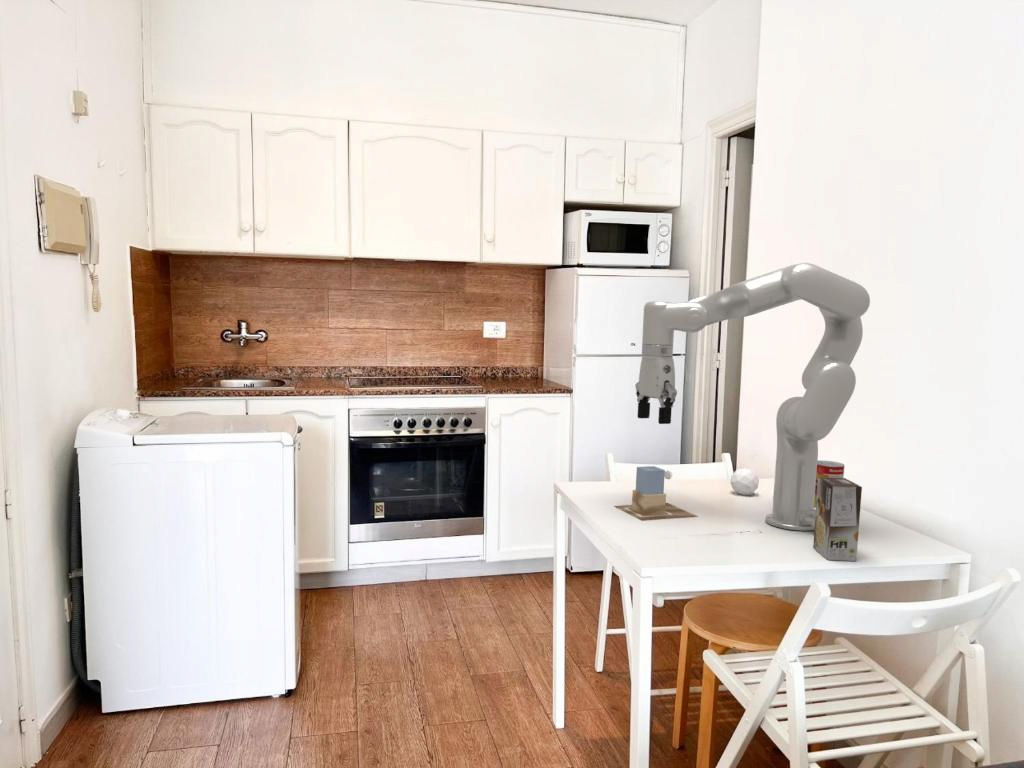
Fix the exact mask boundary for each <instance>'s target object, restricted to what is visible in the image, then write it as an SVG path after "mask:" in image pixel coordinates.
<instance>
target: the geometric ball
mask: <svg viewBox="0 0 1024 768" xmlns="http://www.w3.org/2000/svg"><path fill="white" fill-rule="evenodd" d="M730 477H731V478H730V486H731V488H732V489H733V491H735V493H737V494H738V493H739V494H738V495H742V496H746V495H747V496H749V495H752V494H753V493H754V492H756V490H757V489H758V488H759V482H760V480H759V478H758V475H757V474H756V473H755V472H754V470H752V469H751V468H745V467H742V468H738V469H736V470H735V471H734V472H733V473H732V474H731V475H730Z"/></svg>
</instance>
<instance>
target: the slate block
mask: <svg viewBox="0 0 1024 768" xmlns="http://www.w3.org/2000/svg"><path fill="white" fill-rule="evenodd" d="M665 472H666V470H665V469H663V468H660V467H658V466H655V465H650V466H649V465H647V466H646V465H645V466H636V476H635V477H636V478H635V490H636V491H638V492H640V493H643V494H645V495H654V494H665V493H664V491H665V477H666V476H665V474H666V473H665Z"/></svg>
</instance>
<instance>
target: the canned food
mask: <svg viewBox="0 0 1024 768" xmlns="http://www.w3.org/2000/svg"><path fill="white" fill-rule="evenodd" d="M844 475H845V463H842V462H839V461H833V460H822V459H821V460H820V459H819V460H818V462H817V472H816V486H815V499H814V508H816V498H817V483H818V477H824V478H826V477H832V478H845V477H844Z"/></svg>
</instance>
